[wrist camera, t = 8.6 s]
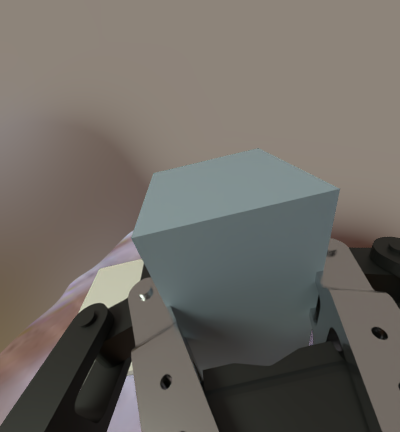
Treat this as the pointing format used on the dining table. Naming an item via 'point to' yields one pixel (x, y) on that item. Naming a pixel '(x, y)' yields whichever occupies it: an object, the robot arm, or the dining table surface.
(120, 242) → the dining table surface
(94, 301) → the cream tile
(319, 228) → the slate block
